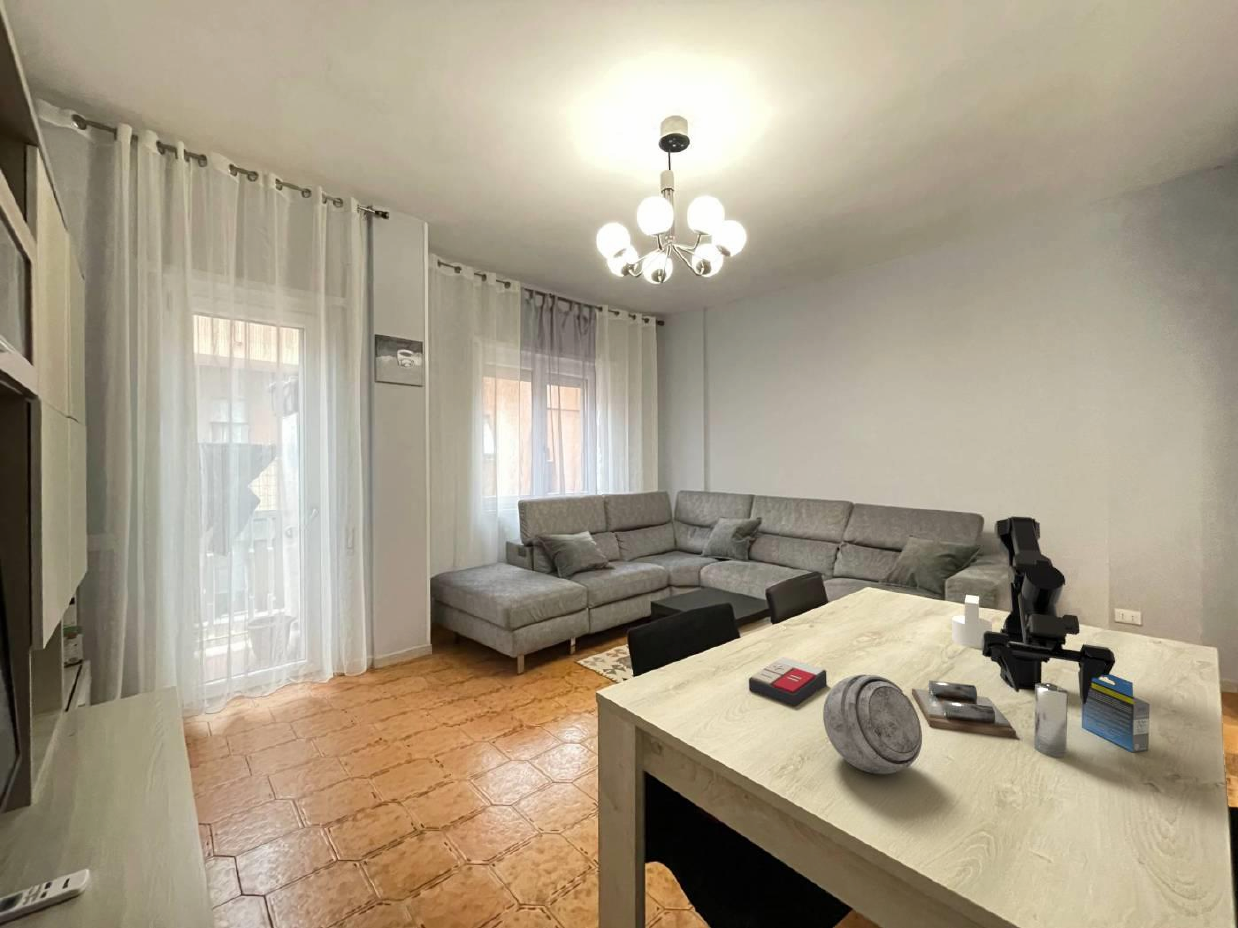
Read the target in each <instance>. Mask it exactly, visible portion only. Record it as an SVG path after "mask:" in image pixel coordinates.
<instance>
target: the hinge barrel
mask: <svg viewBox="0 0 1238 928" xmlns="http://www.w3.org/2000/svg"><path fill="white" fill-rule="evenodd" d="M1068 693H1069V692H1068V690H1067V689H1066V688H1064V687H1061V686H1059V685H1056V684H1053V683H1052V682H1051V683H1049V682H1046V683H1045V682H1041V683H1037V684H1035V689H1034V726H1033V727H1034V728H1033V729H1034V730H1033V731H1034V732H1033V733H1034V735H1033V736H1034V737H1033V738H1034V739H1033V743H1034V744H1033V746H1034V749H1035V750H1036V751H1037V752H1039V753H1041V754H1043V755H1045V756H1048V757H1052V758H1056V759H1065V758H1066V757H1067V754H1068V753H1067V752H1068V748H1067V746H1068V740H1067V739H1068V698H1069V697H1068V696H1069V695H1068Z"/></svg>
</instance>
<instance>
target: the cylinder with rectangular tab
mask: <svg viewBox="0 0 1238 928" xmlns="http://www.w3.org/2000/svg"><path fill="white" fill-rule="evenodd" d="M951 619H952V620H951V621H952V623H951V626H952V628H951V641H952V642H953V643H955V642H956V644H957V645H959V644H960V646H962V647H967V648H971V649H981V650H982V639H983V633H985V632H986V631H992V632H993V623H992V622H991V621H989V620H987V619H984V618H981V617H980V596H978V595H972V594H971V595H970V594H966V595H965V599H964V615H955V616H953V617H952V618H951Z"/></svg>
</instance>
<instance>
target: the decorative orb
mask: <svg viewBox="0 0 1238 928" xmlns="http://www.w3.org/2000/svg"><path fill="white" fill-rule="evenodd" d="M822 719H823V721H822V722H823V725H824V726H823V727H824V730H825V733H826V736H827V738H828V740H829V741H830V744H831V745H832V746H833V747H832V748H833V749H834V750H835V751H836V752H837V753H838V755H840V757H842V758H843V760H845V761H846V762H847V763H848V764H850V765H852V766H853V767H855V768H857V769H859V770H861V771H864V772H867V773H870V774H876V775H889V774H893V773H896V772H900V771H902V770H905V769H907V768H909V767H910V766H911V765H912V764H914V762H915V761H916V759H917V758H918V756H919V755H920V753H921V749H922V745H923V730H922V725H921V721H920V718H919V715H918V712H917V711H916V708H915V707H914V704H913V702H912V701H911V699H910V697H908V695H906V694H904V691H903V689H902V688H901V687H899V685H897V684H896V683H894V682H893V681H891V680H890V679H887V678H885V677H882V676H881V675H876V674H854V675H851V676H847V677H845V678H843V679H841V680H839V681H838V682H837V683H836V684H835V685H834V686H833V687H832V688H831V689H830V691H829V692H828V694H827V696H826V698H825V701H824V704H823V710H822Z"/></svg>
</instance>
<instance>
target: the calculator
mask: <svg viewBox="0 0 1238 928" xmlns="http://www.w3.org/2000/svg"><path fill="white" fill-rule="evenodd" d="M827 684H828V683H827V670H826V669H824V668H821V667H818V666H815V665H812V664H808V663H805V662H802V661H799V660H795V659H792V658H789V657H786V656H781V657H780V658H779V659H778V660H775V661H773V662H771V663H770V664H768V665H767V666H765V667H764V668H763V669H761V670H759V671H757V672H756V673H754V674H753V675H751V677H749V678H748V690H749V691H751V692H753V693H756V694H758V695H761V696H763V697H766V698H768V699H771V700H774V701H776V702H780V703H783V704H785V705H787V706H789V707H790V706H791V707H793V708H794V707H795V708H796V707H797V706H799V705H800V704H802V702H804V701H806V700H808V699H809V698H810V697H811V696H813V695H814V694H815V693H816V692H819V691H821V690H822V689H823V688H825V687H827Z"/></svg>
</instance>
